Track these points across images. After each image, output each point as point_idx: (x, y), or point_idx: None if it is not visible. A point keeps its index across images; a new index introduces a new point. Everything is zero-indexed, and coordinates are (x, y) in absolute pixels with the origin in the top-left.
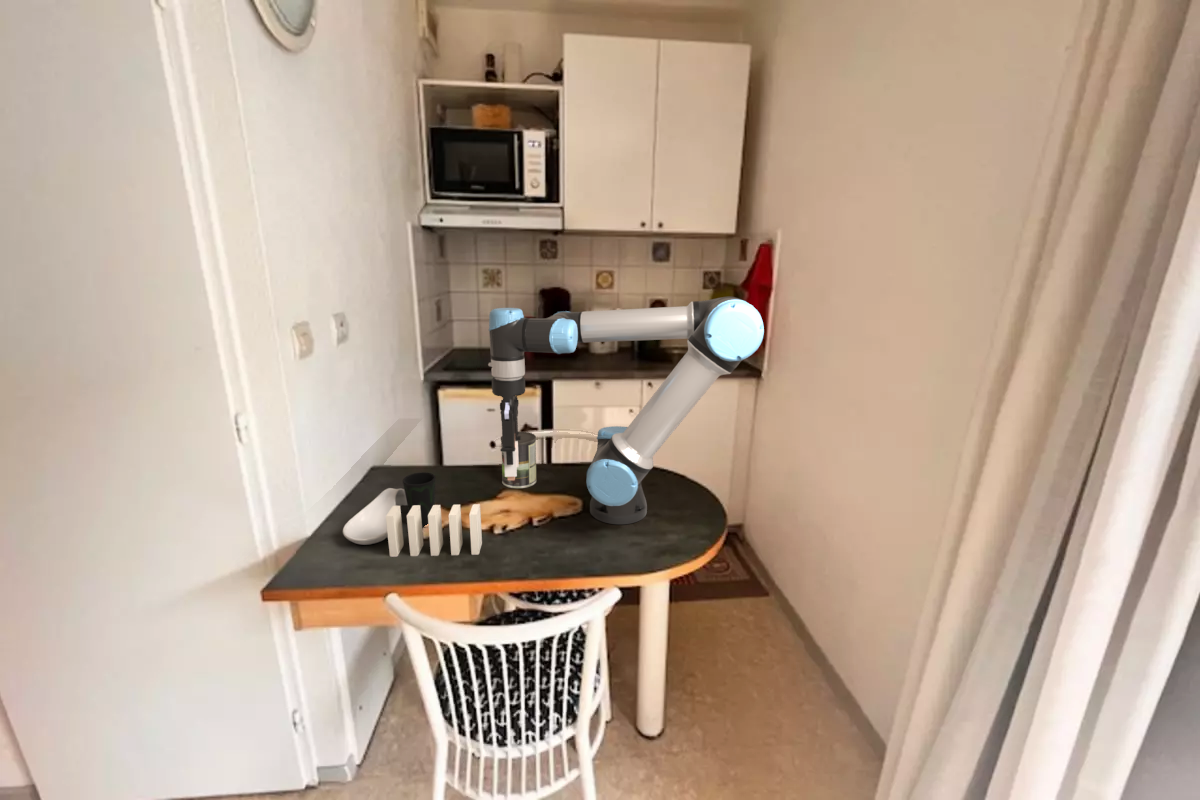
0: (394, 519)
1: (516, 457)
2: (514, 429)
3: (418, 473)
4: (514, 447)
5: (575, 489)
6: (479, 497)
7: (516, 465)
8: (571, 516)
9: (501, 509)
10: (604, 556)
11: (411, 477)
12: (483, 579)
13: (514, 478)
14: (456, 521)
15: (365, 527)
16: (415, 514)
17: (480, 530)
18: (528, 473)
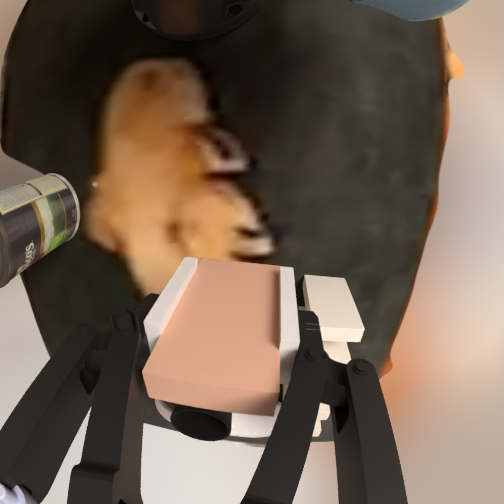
0: (316, 424)
1: (185, 285)
2: (276, 450)
3: (175, 425)
4: (320, 363)
5: (86, 83)
6: (120, 282)
7: (196, 268)
8: (211, 81)
9: (166, 240)
10: (391, 46)
11: (185, 429)
12: (415, 266)
13: (276, 268)
14: (347, 352)
15: (240, 416)
16: (321, 411)
17: (318, 292)
18: (53, 194)
